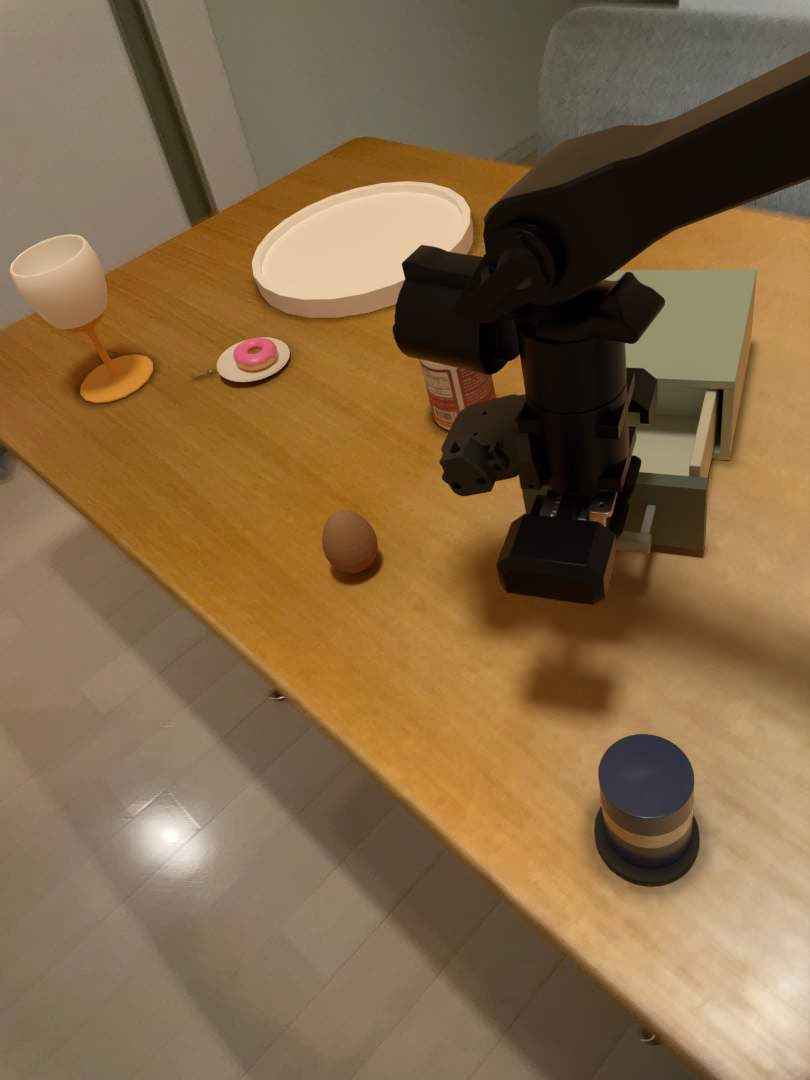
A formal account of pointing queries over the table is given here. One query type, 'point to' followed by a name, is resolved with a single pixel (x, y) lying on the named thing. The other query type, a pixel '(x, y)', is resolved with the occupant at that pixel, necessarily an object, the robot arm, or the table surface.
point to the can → (647, 800)
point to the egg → (349, 542)
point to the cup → (77, 308)
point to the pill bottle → (454, 390)
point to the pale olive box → (699, 336)
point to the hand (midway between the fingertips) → (591, 561)
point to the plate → (357, 247)
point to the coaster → (639, 873)
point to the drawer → (669, 471)
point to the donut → (253, 359)
